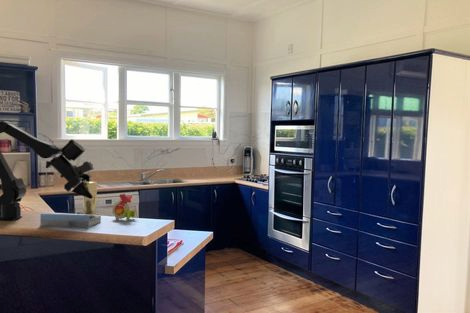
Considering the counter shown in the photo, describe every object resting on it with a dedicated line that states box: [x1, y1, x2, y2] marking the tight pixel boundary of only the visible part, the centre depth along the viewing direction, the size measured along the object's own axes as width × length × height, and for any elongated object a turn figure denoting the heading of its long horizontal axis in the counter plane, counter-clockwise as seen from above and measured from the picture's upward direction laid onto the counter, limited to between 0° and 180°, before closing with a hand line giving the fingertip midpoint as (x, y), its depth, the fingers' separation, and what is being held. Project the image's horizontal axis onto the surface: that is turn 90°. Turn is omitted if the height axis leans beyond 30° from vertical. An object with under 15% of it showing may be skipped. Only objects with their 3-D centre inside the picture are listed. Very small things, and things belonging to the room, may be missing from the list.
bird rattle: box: [112, 193, 137, 222], centre depth 155 cm, size 6×11×9 cm
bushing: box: [82, 181, 98, 215], centre depth 153 cm, size 5×5×12 cm
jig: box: [40, 212, 102, 229], centre depth 145 cm, size 18×11×4 cm, turn 87°
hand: (93, 196), depth 154 cm, fingers closed on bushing, 5 cm apart
